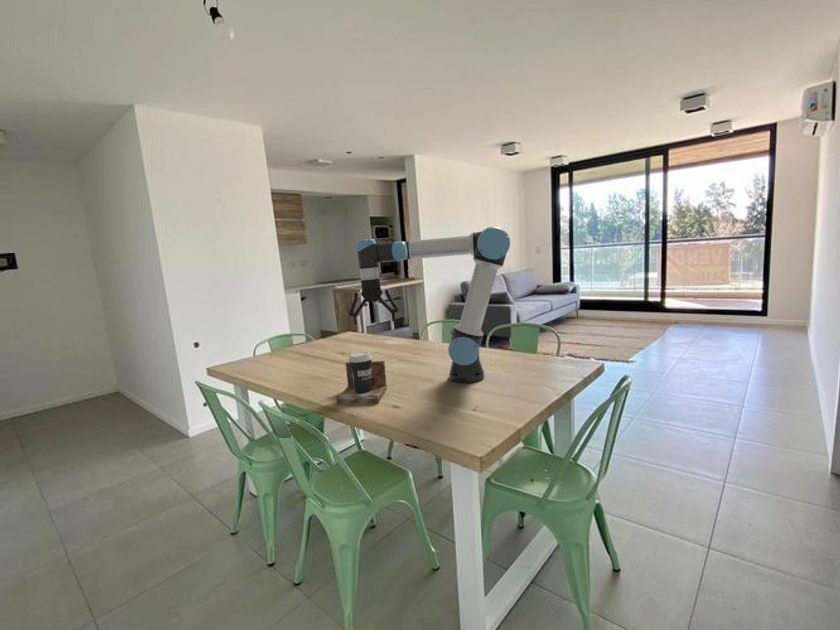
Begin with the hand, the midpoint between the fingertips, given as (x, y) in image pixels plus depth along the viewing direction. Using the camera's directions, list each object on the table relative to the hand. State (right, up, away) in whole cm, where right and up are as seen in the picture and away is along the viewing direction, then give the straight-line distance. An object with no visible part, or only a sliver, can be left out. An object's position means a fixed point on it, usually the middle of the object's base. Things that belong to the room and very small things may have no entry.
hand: (376, 330), depth 172 cm
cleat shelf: (-5, -26, -2) cm, 26 cm away
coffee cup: (-5, -24, -2) cm, 25 cm away
